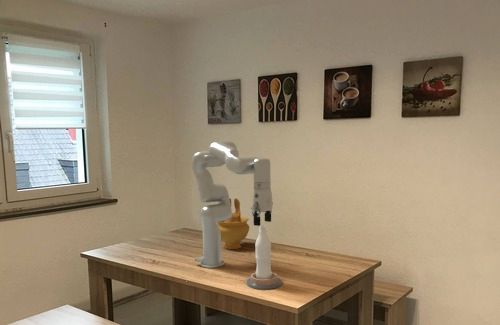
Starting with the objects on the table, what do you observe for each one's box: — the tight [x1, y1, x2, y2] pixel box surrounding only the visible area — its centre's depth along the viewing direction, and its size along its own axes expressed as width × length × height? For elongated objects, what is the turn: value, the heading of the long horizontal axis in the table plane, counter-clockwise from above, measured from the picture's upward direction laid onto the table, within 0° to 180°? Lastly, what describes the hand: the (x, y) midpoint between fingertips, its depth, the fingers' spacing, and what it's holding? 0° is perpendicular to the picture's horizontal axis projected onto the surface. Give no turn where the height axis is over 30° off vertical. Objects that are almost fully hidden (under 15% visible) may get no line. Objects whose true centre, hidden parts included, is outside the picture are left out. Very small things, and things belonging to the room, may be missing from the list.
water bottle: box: [254, 225, 272, 279], centre depth 181 cm, size 7×7×25 cm
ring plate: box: [246, 271, 283, 291], centre depth 181 cm, size 16×16×4 cm
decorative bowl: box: [217, 197, 250, 250], centre depth 246 cm, size 21×21×30 cm
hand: (262, 223), depth 180 cm, fingers open, 9 cm apart
